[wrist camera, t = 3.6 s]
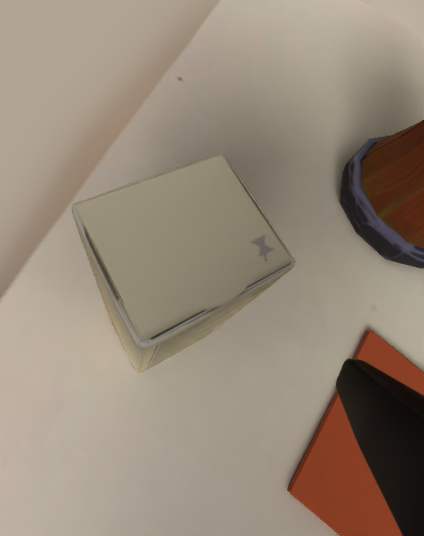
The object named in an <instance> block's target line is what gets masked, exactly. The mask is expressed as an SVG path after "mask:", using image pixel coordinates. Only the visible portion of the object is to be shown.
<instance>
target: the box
mask: <svg viewBox="0 0 424 536" xmlns="http://www.w3.org/2000/svg"><path fill="white" fill-rule="evenodd" d="M72 213H73V216H74V219H75V222H76V225H77V228H78V231H79V234H80V237H81V239H82V242H83V245H84V248H85V251H86V253H87V256H88V259H89V262H90V264H91V267H92V270H93V273H94V276H95V278H96V281H97V284H98V287H99V289H100V292H101V295H102V298H103V301H104V304H105V307H106V309H107V312H108V314H109V316H110V318H111V321H112V323H113V325H114V327H115V330H116V332H117V334H118V336H119V338H120V340H121V342H122V345H123V347H124V349H125V351H126V353H127V355H128V357H129V359H130V361H131V363H132V365H133V366H134V368H135V370H136V371H137V372H142V371H144V370H146V369H148V368H150V367H152V366H154V365H156V364H158V363H160V362H161V361H163V360H165V359H167V358H169V357H170V356H172V355H174V354H176V353H177V352H179V351H181V350H183V349H184V348H186V347H188V346H189V345H191V344H193V343H194V342H196V341H198V340H200V339H201V338H203V337H204V336H206V335H208V334H209V333H211V332H212V331H214V330H215V329H216V328H217V327H219V326H220V325H221V324H223V323H224V322H225V321H226V320H228V319H229V318H230V317H232V316H233V315H234V314H236V313H237V312H238V311H239V310H241V309H242V308H243V307H245V306H246V305H247V304H248V303H250V302H251V301H252V300H253V299H255V298H256V297H257V296H259V295H260V294H261V293H262V292H264V291H265V290H266V289H267V288H269V287H270V286H271V285H272V284H274V283H275V282H276V281H277V280H278V279H280V278H281V277H282V276H283V275H285V274H286V273H287V272H288V271H290V270H291V269H292V268H293V267H294V266H295V263H296V261H295V259H294V258H293V256H292V255H291V254H290V252H289V251H288V249H287V247H286V246H285V244H284V243H283V241H282V240H281V238H280V237H279V235H278V233H277V232H276V230H275V229H274V227H273V226H272V224H271V223H270V221H269V220H268V218H267V217H266V215H265V214H264V212H263V211H262V209H261V208H260V206H259V205H258V203H257V201H256V200H255V199H254V197H253V196H252V195H251V193H250V191H249V190H248V188H247V187H246V185H245V184H244V183H243V181H242V180H241V179H240V177H239V176H238V174H237V173H236V171H235V170H234V168H233V167H232V165H231V164H230V162H229V161H228V159H227V158H226V157H225V156H223V155H218V156H214V157H211V158H208V159H204V160H201V161H198V162H195V163H192V164H188V165H185V166H182V167H179V168H176V169H173V170H169V171H167V172H164V173H160V174H157V175H154V176H152V177H149V178H146V179H143V180H140V181H137V182H134V183H131V184H129V185H126V186H123V187H120V188H117V189H114V190H111V191H109V192H106V193H103V194H100V195H98V196H95V197H92V198H89V199H86V200H83V201H80V202H77V203H75V204H73V206H72Z"/></svg>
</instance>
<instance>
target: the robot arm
mask: <svg viewBox="0 0 424 536" xmlns="http://www.w3.org/2000/svg"><path fill="white" fill-rule="evenodd" d="M336 389H337V392H338V395H339V398H340V400H341V403H342V405H343V408H344V411H345V413H346V416H347V418H348V421H349V423H350V426H351V429H352V431H353V434H354V436H355V439H356V441H357V444H358V446H359V448H360V450H361V452H362V454H363V456H364V458H365V460H366V462H367V464H368V467H369V469H370V471H371V473H372V475H373V477H374V479H375V481H376V483H377V485H378V487H379V489H380V491H381V493H382V495H383V497H384V499H385V501H386V503H387V505H388V507H389V509H390V511H391V513H392V515H393V517H394V519H395V522H396V524H397V526H398V528H399V530H400V532H401V534H402V536H424V395H423V394H421V393H419V392H417V391H416V390H414V389H412V388H410V387H409V386H407V385H405V384H403V383H402V382H400V381H398V380H396V379H395V378H393V377H391V376H390V375H388V374H386V373H384V372H383V371H381V370H379V369H377V368H376V367H374V366H372V365H370V364H369V363H367V362H365V361H364V360H361V359H347V360H346V361H345V362H344V364H343V366H342V369H341V371H340V373H339V376H338V378H337V381H336Z"/></svg>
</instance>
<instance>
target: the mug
mask: <svg viewBox="0 0 424 536" xmlns="http://www.w3.org/2000/svg"><path fill="white" fill-rule="evenodd" d="M340 203H341V204H342V206H343V208H344V210H345V212H346V214H347V216H348V217H349V219H350V221H351V223H352V225H353V227H354V228H355V230H356V232H357V233H358V234H359V235H360V236H361V237H362V238H363V239H364V240H366V241H367V242H368V243H369V244H370V245H371V246H372V247H373V248H374V249H375V250H376V251H378V252H379V253H380V254H381V255H382V256H383V257H384V258H385V259H387V260H391V261H394V262H398V263H402V264H406V265H410V266H414V267H418V268H424V120H423V121H421V122H419V123H417V124H415V125H413V126H411V127H409V128H407V129H405V130H402V131H400V132H398V133H396V134H393V135H391V136H385V137H379V138H373V139H369V140H368V141H367V142H366V143H365V144H364V145H363V146H362V148H361V149H360V150H359V151H358V152H357V153H356V154H355V155H354V156H353V157H352V158H351V159H350V160H349V162H348V163H347V164H346V166H345V168H344V171H343V180H342V190H341V201H340Z"/></svg>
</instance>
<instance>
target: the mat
mask: <svg viewBox="0 0 424 536" xmlns="http://www.w3.org/2000/svg"><path fill="white" fill-rule="evenodd" d="M353 359H361V360H364V361H365V362H367V363H369V364H370V365H372V366H374V367H376V368H377V369H379V370H381V371H383V372H384V373H386V374H388V375H390V376H391V377H393V378H395V379H396V380H398V381H400V382H402V383H403V384H405V385H407V386H409V387H410V388H412V389H414V390H416V391H417V392H419V393H421V394H423V395H424V372H423V371H421V370H420V369H419V368H418V367H416V366H415V365H414V364H413V363H412V362H410V361H409V360H408V359H407V358H405V357H404V356H403V355H402V354H400V353H399V352H398V351H397V350H395V349H394V348H393V347H392V346H390V345H389V344H388V343H387V342H385V341H384V340H383V339H382V338H380V337H379V336H378V335H377V334H376V333H374V332H373V331H372V330H368V331H367V332H366V334H365V336H364V338H363V340H362V342H361V344H360V346H359V348H358V350H357V352H356V354H355V356H354V358H353ZM288 492H290V493H291V494H292V495H293V496H294V497H295V498H297V499H298V500H299V501H300V502H301V503H302V504H304V505H305V506H306V507H307V508H308V509H310V510H311V511H312V512H313V513H314V514H315V515H317V516H318V517H319V518H320V519H321V520H322V521H324V522H325V523H326V524H327V525H328V526H329V527H331V528H332V529H333V530H334V531H335V532H336V533H338V534H339V535H340V536H402V534H401V532H400V530H399V528H398V526H397V524H396V522H395V519H394V517H393V515H392V513H391V511H390V509H389V507H388V505H387V503H386V501H385V499H384V497H383V495H382V493H381V491H380V489H379V487H378V485H377V483H376V481H375V479H374V477H373V475H372V473H371V471H370V469H369V467H368V464H367V462H366V460H365V458H364V456H363V454H362V452H361V450H360V448H359V446H358V444H357V441H356V439H355V436H354V434H353V431H352V429H351V426H350V423H349V421H348V418H347V416H346V413H345V411H344V408H343V405H342V403H341V400H340V398H339V395H338V392H336V394H335V396H334V398H333V400H332V402H331V404H330V406H329V408H328V410H327V412H326V414H325V416H324V418H323V420H322V422H321V424H320V426H319V428H318V430H317V432H316V434H315V436H314V438H313V440H312V442H311V444H310V446H309V448H308V450H307V452H306V454H305V456H304V458H303V460H302V462H301V464H300V466H299V468H298V470H297V472H296V474H295V476H294V478H293V480H292V482H291V484H290V486H289V488H288Z"/></svg>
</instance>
